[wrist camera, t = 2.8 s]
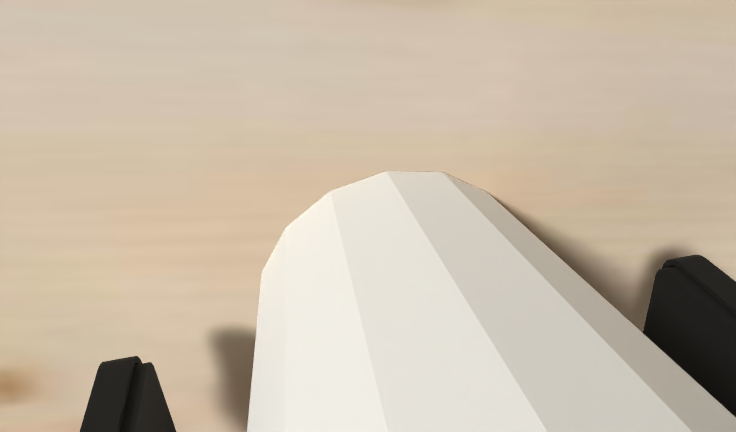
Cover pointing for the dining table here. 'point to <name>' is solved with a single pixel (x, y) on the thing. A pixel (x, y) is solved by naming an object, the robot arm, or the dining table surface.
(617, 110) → the dining table surface
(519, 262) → the white cup
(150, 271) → the dining table surface
